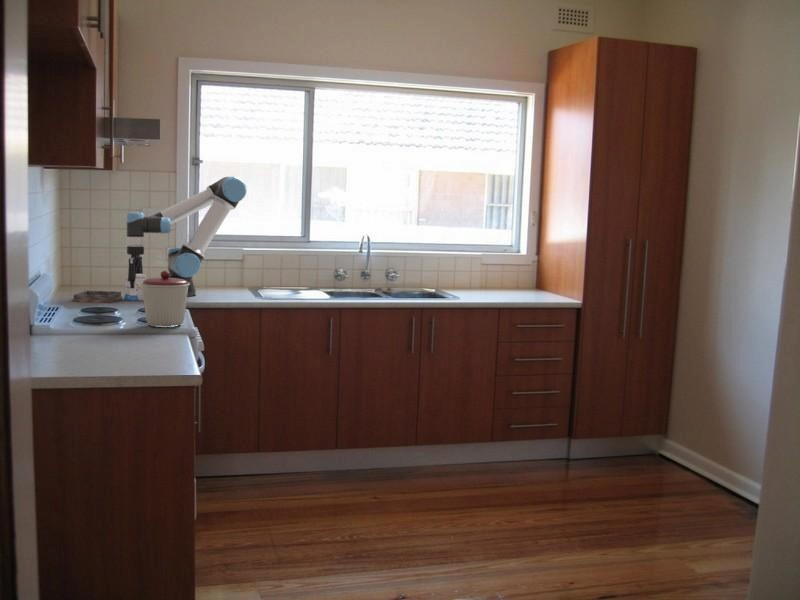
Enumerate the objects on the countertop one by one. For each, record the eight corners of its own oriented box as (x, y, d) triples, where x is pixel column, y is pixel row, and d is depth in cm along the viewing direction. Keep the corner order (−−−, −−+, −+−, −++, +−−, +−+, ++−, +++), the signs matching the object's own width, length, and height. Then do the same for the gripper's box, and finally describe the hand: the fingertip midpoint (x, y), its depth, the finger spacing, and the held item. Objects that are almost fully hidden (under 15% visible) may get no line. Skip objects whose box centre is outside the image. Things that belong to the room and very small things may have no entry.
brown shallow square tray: (122, 297, 391) (122, 291, 391) (111, 302, 374) (111, 295, 374) (85, 296, 390) (85, 290, 390) (72, 301, 373) (72, 294, 373)
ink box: (131, 300, 382) (130, 275, 380) (124, 299, 385) (124, 274, 383) (146, 299, 389) (146, 274, 387) (140, 298, 392) (140, 273, 390)
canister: (197, 324, 323) (197, 270, 320) (176, 331, 305) (177, 274, 303) (154, 321, 326) (154, 267, 324) (131, 328, 309) (131, 271, 306)
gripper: (133, 244, 394) (134, 291, 397) (120, 247, 373) (120, 296, 376) (149, 244, 395) (150, 291, 398) (137, 247, 373) (137, 297, 376)
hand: (135, 294), depth 387 cm, fingers closed on ink box, 9 cm apart
